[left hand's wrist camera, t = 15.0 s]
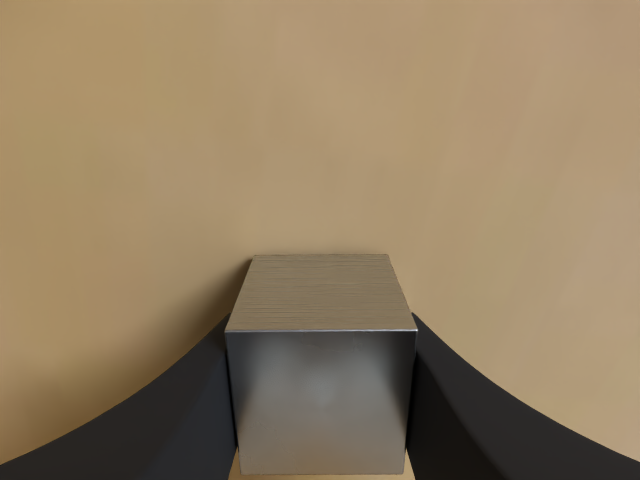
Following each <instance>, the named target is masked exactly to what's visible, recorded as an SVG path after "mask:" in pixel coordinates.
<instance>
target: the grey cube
mask: <svg viewBox="0 0 640 480" xmlns="http://www.w3.org/2000/svg"><path fill="white" fill-rule="evenodd" d="M224 332H225V341H226V350H227V358H228V367H229V376H230V385H231V393H232V402H233V411H234V420H235V428H236V437H237V446H238V455H239V463H240V472H241V475H371V474H403V472H404V462H405V453H406V443H407V433H408V423H409V414H410V404H411V394H412V384H413V375H414V365H415V355H416V345H417V336H418V329H417V326H416V324H415V322H414V319H413V317H412V314H411V312H410V309H409V307H408V304H407V302H406V299H405V297H404V294H403V292H402V289H401V287H400V284H399V282H398V280H397V277H396V275H395V272H394V270H393V267H392V265H391V262H390V260H389V257H388V255H255V256H254V257H253V260H252V262H251V265H250V267H249V270H248V272H247V275H246V278H245V280H244V283H243V285H242V288H241V290H240V293H239V295H238V298H237V300H236V303H235V306H234V308H233V311H232V313H231V316H230V318H229V321H228V323H227V326H226V328H225V331H224Z"/></svg>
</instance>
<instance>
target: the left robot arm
mask: <svg viewBox="0 0 640 480" xmlns="http://www.w3.org/2000/svg"><path fill="white" fill-rule="evenodd" d="M411 314H412V317H413V319H414V322H415V324H416V326H417V329H418V336H417V345H416V355H415V365H414V375H413V384H412V394H411V404H410V414H409V423H408V433H407V443H406V449H407V452H408V456H409V459H410V462H411V466H412V469H413V473H414V476H415V480H640V462H638V461H636V460H634V459H631V458H629V457H627V456H624V455H622V454H619V453H617V452H615V451H613V450H611V449H609V448H607V447H605V446H603V445H600V444H598V443H596V442H594V441H592V440H590V439H588V438H586V437H584V436H582V435H580V434H578V433H576V432H574V431H572V430H570V429H569V428H567V427H565V426H563V425H561V424H559V423H557V422H556V421H554V420H552V419H550V418H549V417H547V416H545V415H543V414H542V413H540V412H538V411H537V410H535V409H533V408H531V407H530V406H528V405H527V404H525V403H523V402H522V401H520V400H518V399H517V398H515V397H514V396H512V395H511V394H510V393H508V392H507V391H505V390H504V389H502V388H501V387H499V386H498V385H496V384H495V383H493V382H492V381H491V380H489V379H488V378H487V377H485V376H484V375H483V374H481V373H480V372H479V371H478V370H476V369H475V368H474V367H473V366H471V365H470V364H469V363H467V362H466V361H465V360H464V359H463V358H462V357H460V356H459V355H458V354H457V353H456V352H455V351H453V350H452V349H451V348H450V347H449V346H448V345H447V344H446V343H444V342H443V341H442V340H441V339H440V338H439V337H438V336H437V335H436V334H435V333H434V332H433V331H432V330H431V329H430V328H429V327H428V326H426V325H425V324H424V323H423V322H422V321H421V320H420V319H419V318H418V317H417V316H416V315H415V314H414V313H411ZM230 316H231V313H229V314H228V315H227V316H226V317H225V318H224V319H223V320H221V321H220V322H219V323H218V324H217V325H216V326H215V327H214V328H213V329H212V330H211V331H210V332H209V333H208V334H207V335H206V336H205V337H204V338H203V339H202V340H201V341H200V342H199V343H198V344H197V345H195V346H194V347H193V348H192V349H191V350H190V351H189V352H188V353H187V354H186V355H184V356H183V357H182V358H181V359H180V360H178V361H177V362H176V363H175V364H174V365H172V366H171V367H170V368H169V369H168V370H167V371H165V372H164V373H163V374H161V375H160V376H159V377H158V378H156V379H155V380H154V381H152V382H151V383H149V384H148V385H147V386H145V387H144V388H142V389H141V390H139V391H138V392H137V393H135V394H134V395H132V396H131V397H129V398H128V399H126V400H125V401H123V402H121V403H120V404H118V405H116V406H115V407H113V408H111V409H110V410H108V411H106V412H105V413H103V414H101V415H100V416H98V417H96V418H95V419H93V420H91V421H90V422H88V423H86V424H84V425H82V426H80V427H79V428H77V429H75V430H73V431H71V432H69V433H67V434H65V435H64V436H62V437H60V438H58V439H56V440H54V441H52V442H50V443H47V444H45V445H43V446H41V447H39V448H37V449H35V450H33V451H31V452H29V453H27V454H24V455H22V456H20V457H17V458H15V459H13V460H11V461H8V462H6V463H4V464H1V465H0V480H228V477H229V473H230V470H231V466H232V463H233V459H234V456H235V452H236V449H237V437H236V428H235V420H234V411H233V402H232V393H231V385H230V376H229V367H228V358H227V350H226V341H225V332H224V331H225V328H226V326H227V323H228V321H229V318H230Z"/></svg>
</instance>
